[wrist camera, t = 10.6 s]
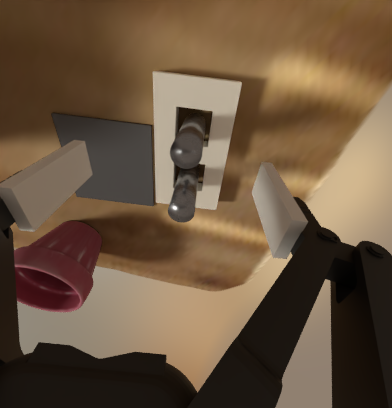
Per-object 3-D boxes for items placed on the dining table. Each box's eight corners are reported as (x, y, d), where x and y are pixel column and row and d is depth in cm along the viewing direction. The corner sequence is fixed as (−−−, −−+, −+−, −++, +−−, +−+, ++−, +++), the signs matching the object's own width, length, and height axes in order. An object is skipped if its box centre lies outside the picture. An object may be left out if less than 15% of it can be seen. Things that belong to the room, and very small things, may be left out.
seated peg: (180, 176, 32) (167, 220, 23) (181, 159, 30) (168, 200, 21) (198, 178, 32) (193, 223, 23) (200, 161, 30) (195, 203, 21)
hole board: (159, 194, 34) (155, 202, 32) (158, 70, 24) (152, 71, 22) (215, 201, 34) (216, 210, 32) (239, 80, 24) (242, 82, 22)
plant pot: (108, 265, 48) (79, 321, 37) (48, 246, 45) (-2, 300, 35) (119, 225, 40) (86, 283, 29) (46, 199, 37) (-19, 252, 27)
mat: (78, 195, 36) (76, 196, 36) (53, 113, 28) (51, 113, 27) (154, 204, 36) (153, 206, 36) (151, 125, 28) (150, 126, 27)
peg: (183, 134, 28) (169, 166, 19) (185, 111, 26) (170, 135, 17) (204, 136, 28) (200, 170, 19) (207, 114, 26) (203, 139, 17)
